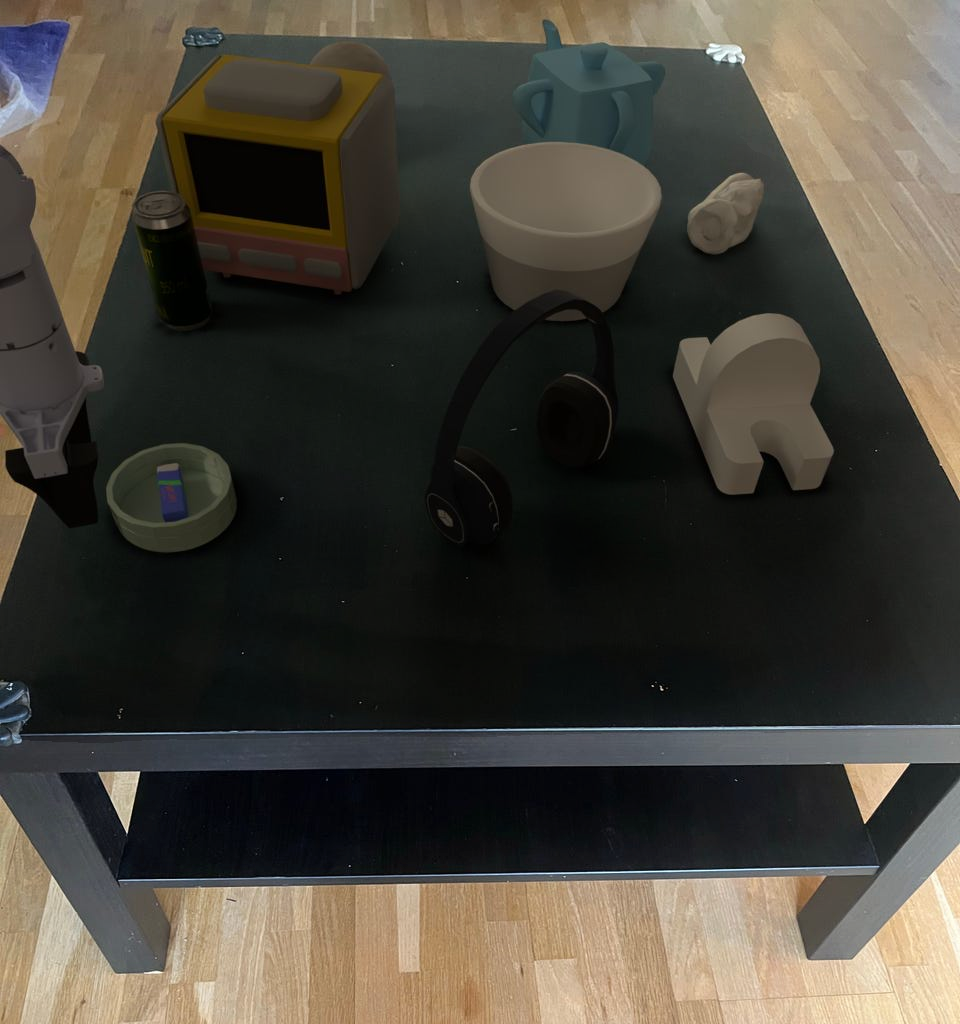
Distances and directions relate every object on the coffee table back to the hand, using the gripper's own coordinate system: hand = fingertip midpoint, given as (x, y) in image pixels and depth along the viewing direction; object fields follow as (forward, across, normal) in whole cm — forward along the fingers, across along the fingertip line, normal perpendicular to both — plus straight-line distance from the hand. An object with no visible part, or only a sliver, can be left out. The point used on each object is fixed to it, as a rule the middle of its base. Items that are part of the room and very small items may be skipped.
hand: (80, 486), depth 70 cm
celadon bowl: (+9, +6, -6) cm, 12 cm away
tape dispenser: (+9, +2, -58) cm, 58 cm away
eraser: (+9, +6, -6) cm, 12 cm away
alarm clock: (+9, +42, -23) cm, 48 cm away
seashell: (+9, +67, -34) cm, 76 cm away
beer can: (+9, +34, -10) cm, 36 cm away
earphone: (+9, -1, -35) cm, 36 cm away
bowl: (+9, +29, -49) cm, 58 cm away
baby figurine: (+9, +34, -71) cm, 79 cm away
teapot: (+9, +55, -61) cm, 83 cm away
